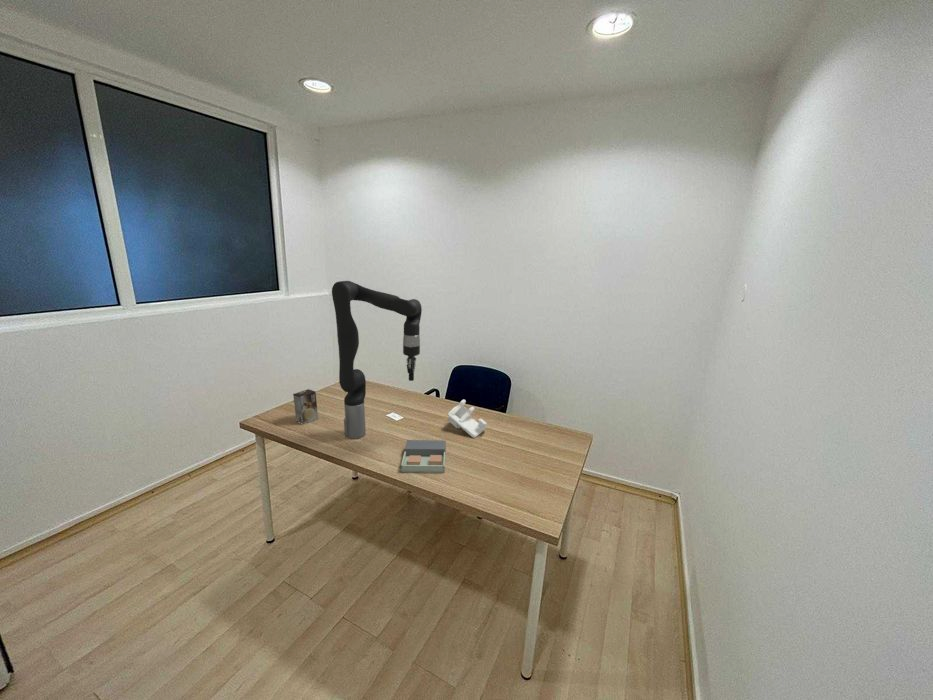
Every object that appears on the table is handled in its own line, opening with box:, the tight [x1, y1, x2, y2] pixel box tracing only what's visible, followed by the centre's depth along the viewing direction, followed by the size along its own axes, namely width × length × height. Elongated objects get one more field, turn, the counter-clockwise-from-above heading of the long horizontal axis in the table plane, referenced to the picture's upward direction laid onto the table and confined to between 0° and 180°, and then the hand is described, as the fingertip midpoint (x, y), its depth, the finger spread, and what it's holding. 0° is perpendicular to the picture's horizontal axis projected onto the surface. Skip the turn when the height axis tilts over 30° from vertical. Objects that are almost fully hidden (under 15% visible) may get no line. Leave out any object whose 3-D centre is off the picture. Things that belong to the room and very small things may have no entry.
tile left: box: [408, 455, 421, 465], centre depth 151 cm, size 5×5×2 cm
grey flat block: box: [404, 439, 447, 457], centre depth 161 cm, size 18×8×4 cm, turn 92°
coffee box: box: [292, 388, 319, 425], centre depth 187 cm, size 9×6×16 cm
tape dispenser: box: [447, 399, 488, 439], centre depth 182 cm, size 20×11×13 cm, turn 60°
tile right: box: [430, 455, 442, 465], centre depth 151 cm, size 5×5×2 cm
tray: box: [400, 450, 446, 474], centre depth 151 cm, size 18×11×3 cm, turn 92°
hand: (411, 380), depth 163 cm, fingers closed
